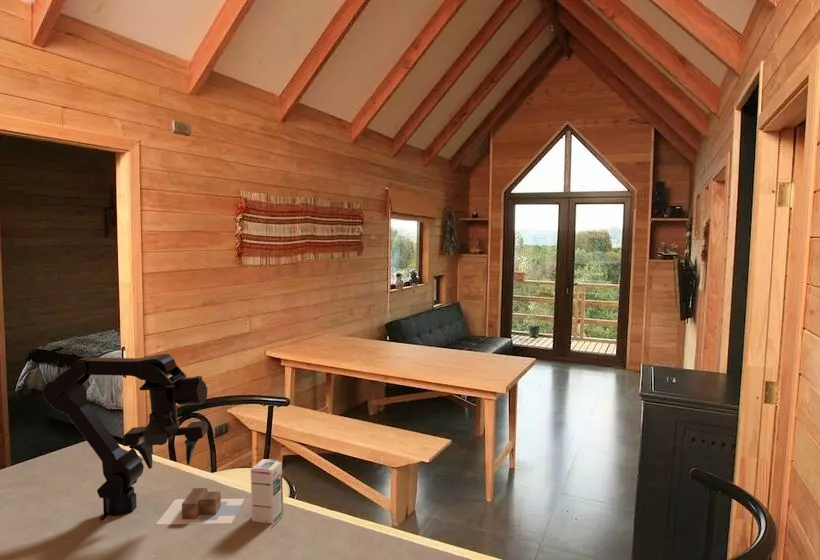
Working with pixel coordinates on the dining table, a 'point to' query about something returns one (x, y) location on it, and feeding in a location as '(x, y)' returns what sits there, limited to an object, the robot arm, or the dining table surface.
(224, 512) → the board
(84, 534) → the dining table surface
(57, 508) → the dining table surface
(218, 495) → the walnut T block
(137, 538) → the dining table surface
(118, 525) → the dining table surface
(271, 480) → the syrup box
